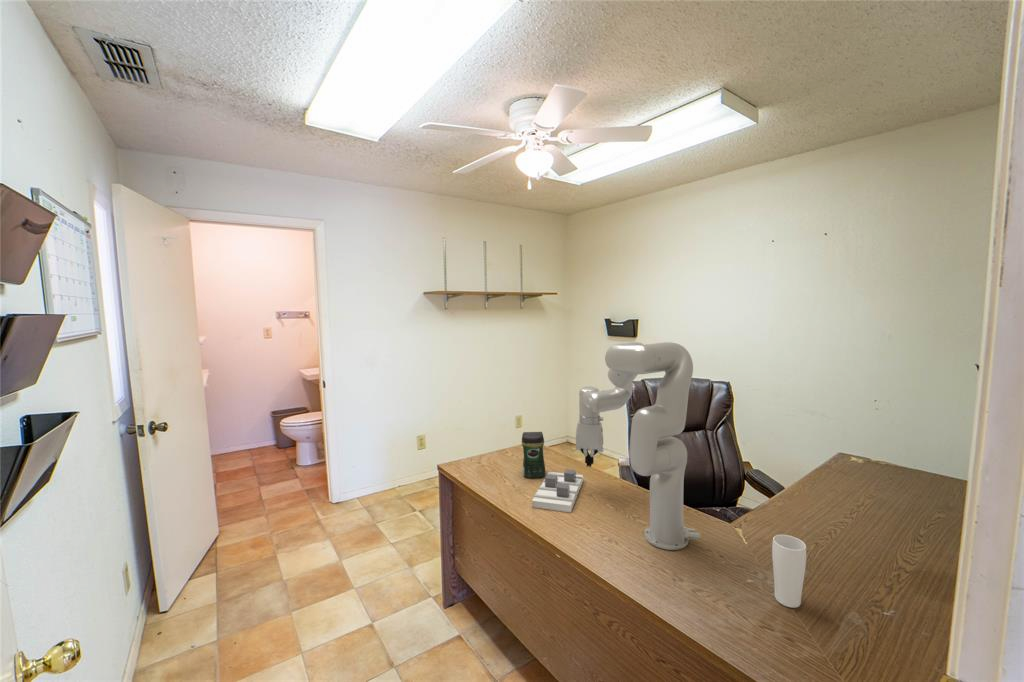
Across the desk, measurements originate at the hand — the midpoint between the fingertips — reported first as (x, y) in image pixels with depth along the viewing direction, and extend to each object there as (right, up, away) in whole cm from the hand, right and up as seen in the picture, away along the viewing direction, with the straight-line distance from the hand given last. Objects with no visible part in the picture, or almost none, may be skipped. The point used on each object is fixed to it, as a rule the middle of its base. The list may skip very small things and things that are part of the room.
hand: (589, 465), depth 163 cm
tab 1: (-15, -7, -1) cm, 17 cm away
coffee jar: (-21, -9, +16) cm, 27 cm away
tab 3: (-7, -7, +3) cm, 10 cm away
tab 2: (-11, -8, -10) cm, 17 cm away
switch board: (-12, -10, -2) cm, 16 cm away
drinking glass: (+36, -15, -62) cm, 73 cm away
